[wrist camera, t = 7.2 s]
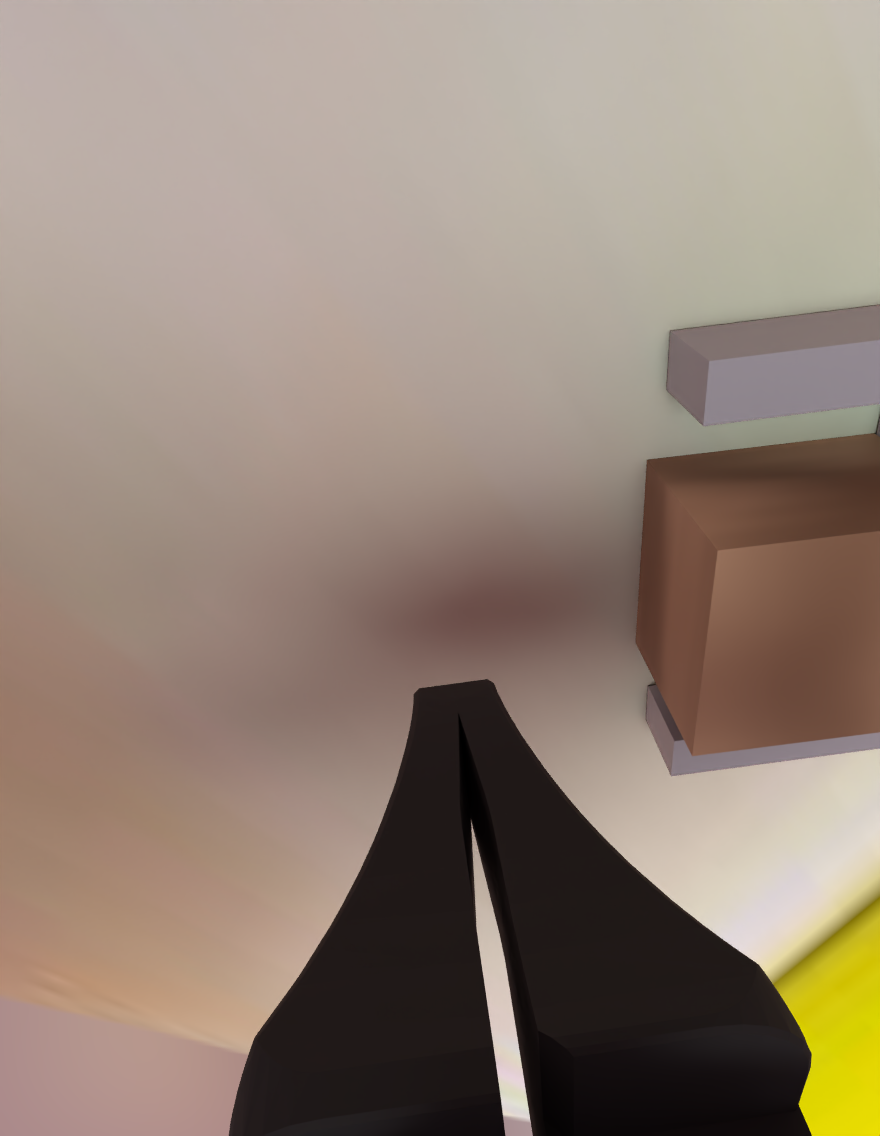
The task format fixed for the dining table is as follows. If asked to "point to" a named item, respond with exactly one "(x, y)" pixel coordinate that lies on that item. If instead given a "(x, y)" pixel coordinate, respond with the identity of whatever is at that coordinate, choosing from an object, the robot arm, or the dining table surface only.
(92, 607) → the dining table surface
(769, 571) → the wooden cube block
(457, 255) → the dining table surface
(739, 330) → the purple-grey c-shaped block
